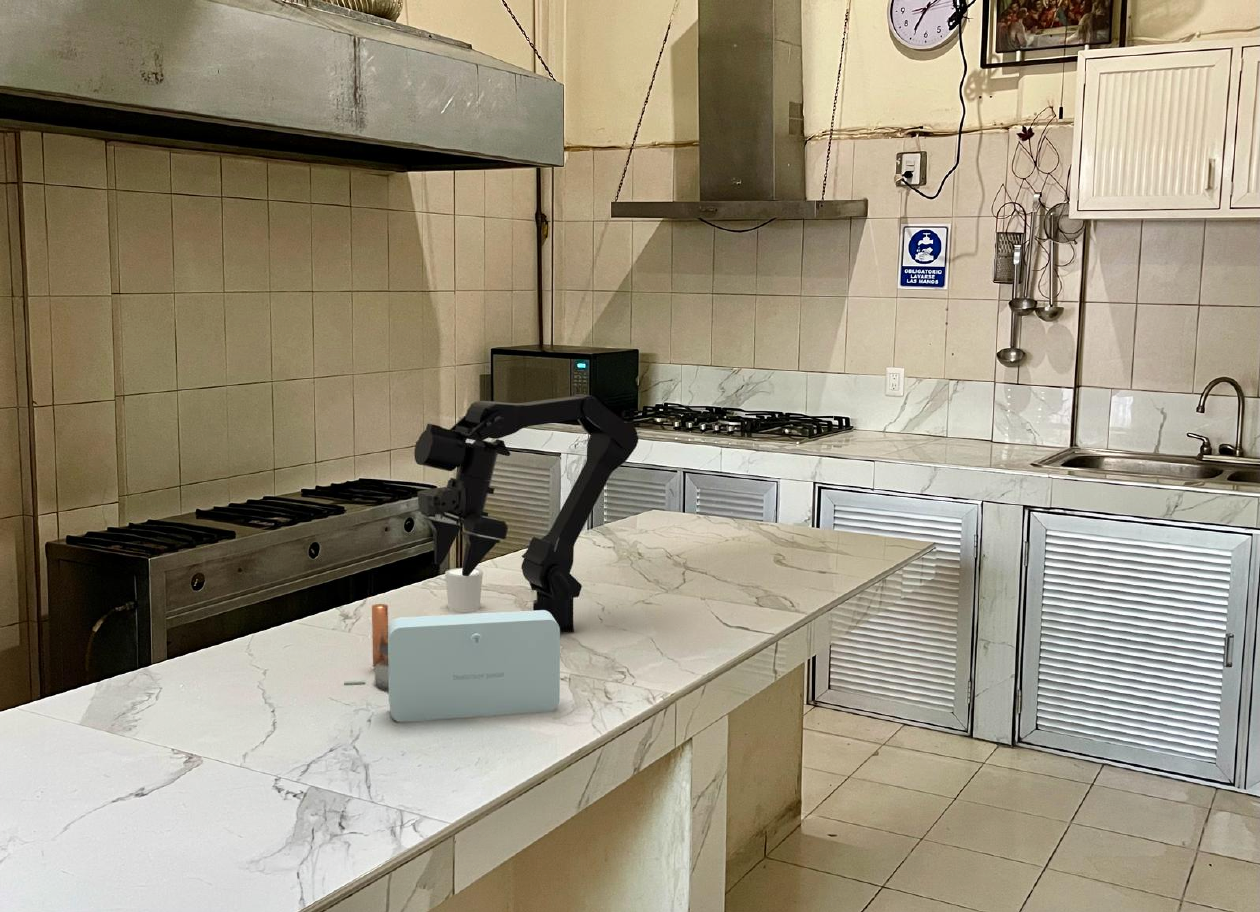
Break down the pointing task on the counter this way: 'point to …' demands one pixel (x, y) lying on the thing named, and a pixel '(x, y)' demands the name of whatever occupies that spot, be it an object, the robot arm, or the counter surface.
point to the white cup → (463, 590)
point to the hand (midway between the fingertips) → (451, 569)
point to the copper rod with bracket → (379, 632)
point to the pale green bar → (354, 682)
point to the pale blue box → (473, 665)
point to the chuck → (382, 675)
